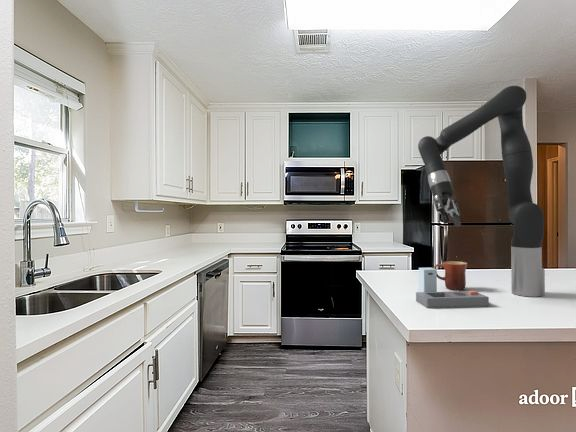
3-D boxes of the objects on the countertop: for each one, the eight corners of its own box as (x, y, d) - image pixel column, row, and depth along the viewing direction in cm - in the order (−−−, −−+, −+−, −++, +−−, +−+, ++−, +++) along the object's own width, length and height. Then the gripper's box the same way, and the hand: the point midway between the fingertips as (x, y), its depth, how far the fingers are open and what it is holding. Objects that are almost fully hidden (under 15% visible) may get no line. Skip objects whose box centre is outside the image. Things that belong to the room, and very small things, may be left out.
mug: (466, 287, 143) (466, 261, 143) (468, 292, 135) (468, 264, 135) (434, 285, 147) (433, 260, 147) (434, 290, 139) (434, 263, 139)
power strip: (473, 299, 124) (472, 288, 124) (488, 306, 115) (488, 294, 115) (416, 301, 123) (415, 289, 123) (427, 308, 114) (427, 296, 114)
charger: (431, 294, 132) (430, 267, 132) (437, 297, 127) (436, 269, 127) (419, 294, 132) (418, 267, 132) (424, 297, 127) (424, 269, 127)
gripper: (440, 176, 129) (453, 218, 124) (458, 184, 138) (471, 223, 133) (421, 185, 135) (433, 225, 129) (440, 192, 144) (452, 230, 138)
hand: (452, 224), depth 131 cm, fingers open, 8 cm apart
